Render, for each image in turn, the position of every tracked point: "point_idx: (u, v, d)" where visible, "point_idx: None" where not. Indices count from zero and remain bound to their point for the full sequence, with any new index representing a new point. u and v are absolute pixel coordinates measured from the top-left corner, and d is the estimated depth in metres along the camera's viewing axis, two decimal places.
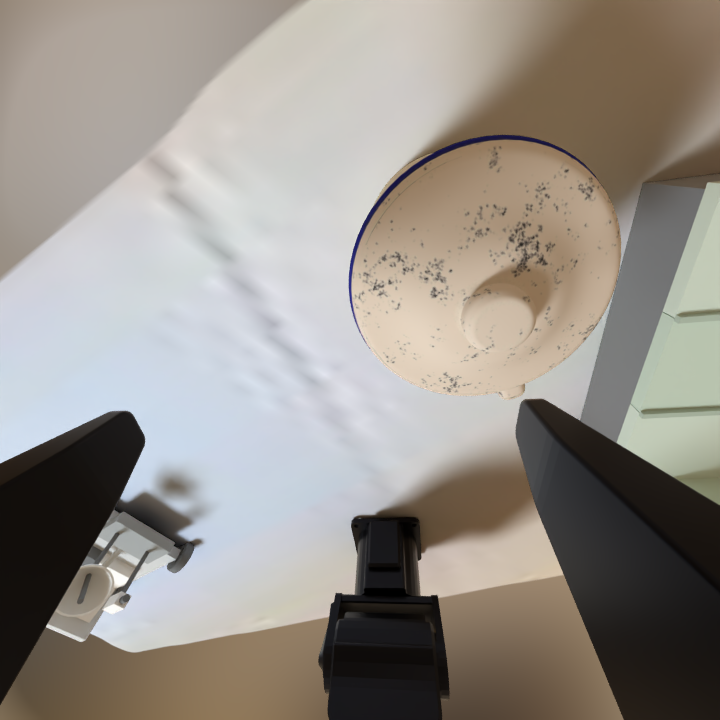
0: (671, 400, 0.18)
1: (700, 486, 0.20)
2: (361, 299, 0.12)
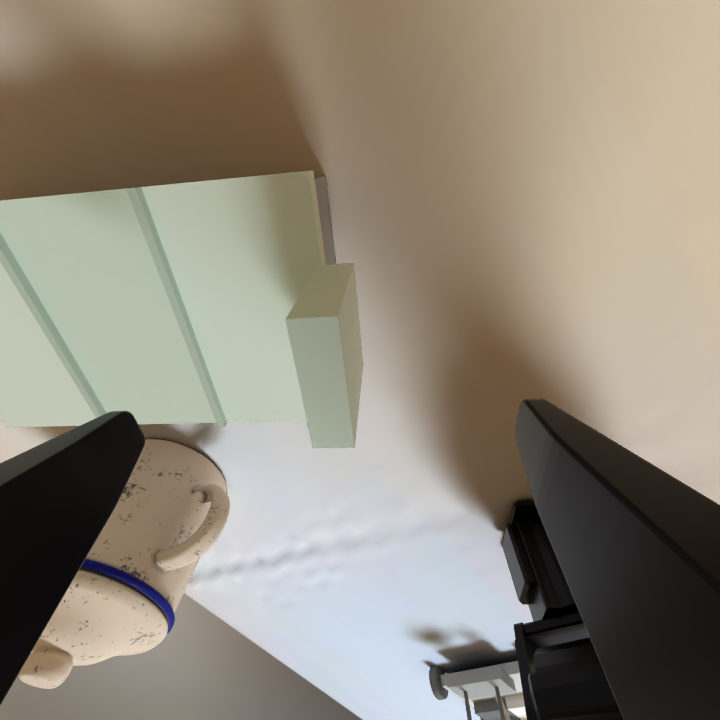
0: (197, 399, 0.15)
1: None
2: None
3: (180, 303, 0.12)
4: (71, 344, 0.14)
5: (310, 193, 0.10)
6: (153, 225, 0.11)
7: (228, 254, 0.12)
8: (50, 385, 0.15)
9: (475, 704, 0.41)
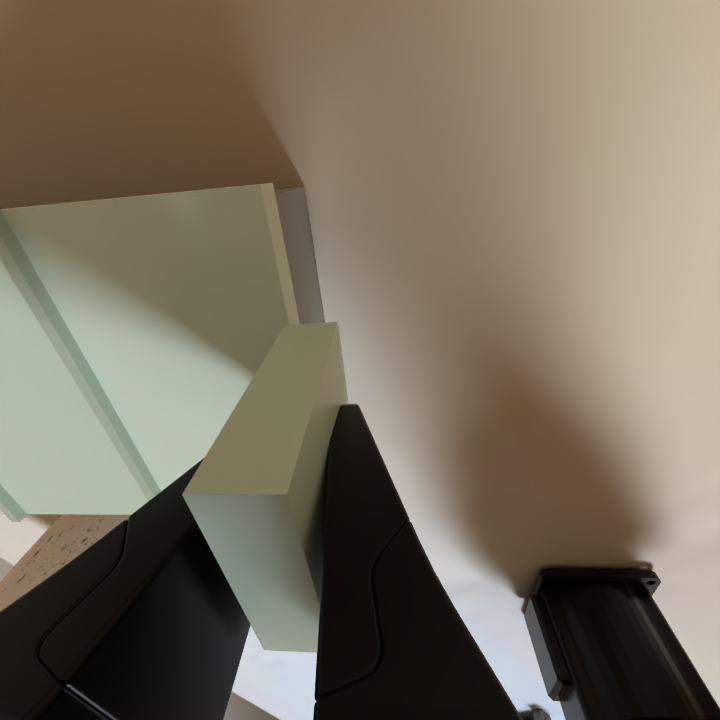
0: (132, 488, 0.11)
1: None
2: None
3: (87, 374, 0.09)
4: None
5: (266, 220, 0.07)
6: (28, 267, 0.07)
7: (149, 308, 0.08)
8: None
9: None
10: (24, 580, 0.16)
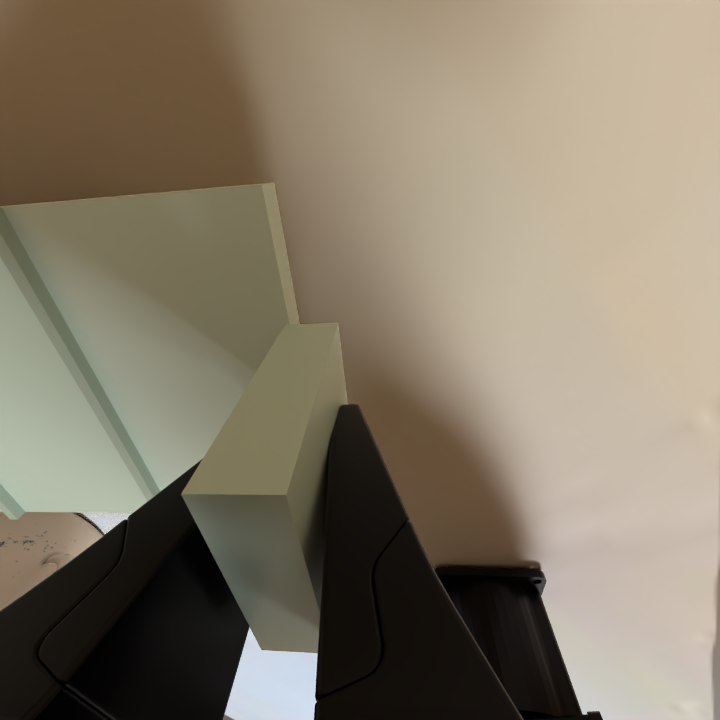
0: (130, 487, 0.11)
1: None
2: None
3: (87, 372, 0.09)
4: None
5: (267, 220, 0.07)
6: (29, 265, 0.07)
7: (149, 306, 0.08)
8: None
9: None
10: None
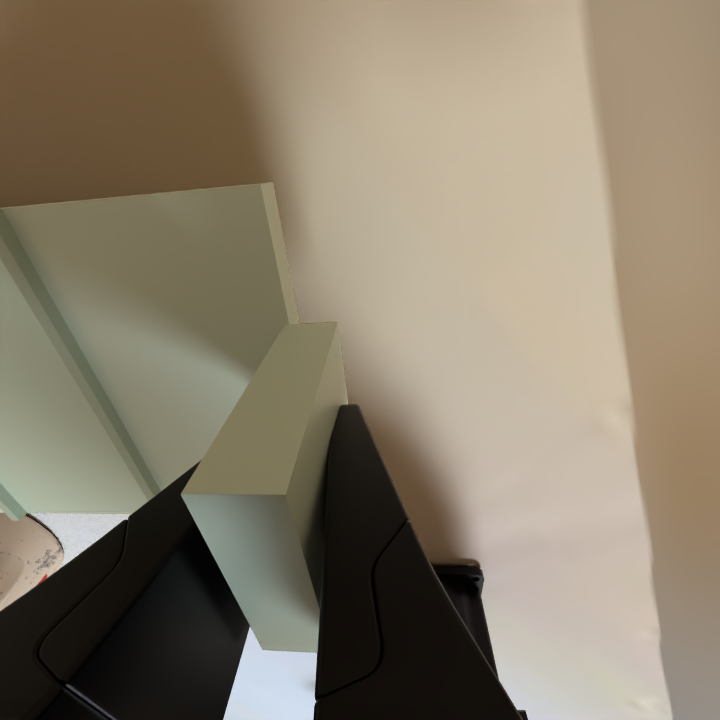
0: (132, 487, 0.11)
1: None
2: None
3: (87, 373, 0.09)
4: None
5: (266, 219, 0.07)
6: (28, 266, 0.07)
7: (149, 307, 0.08)
8: None
9: None
10: None
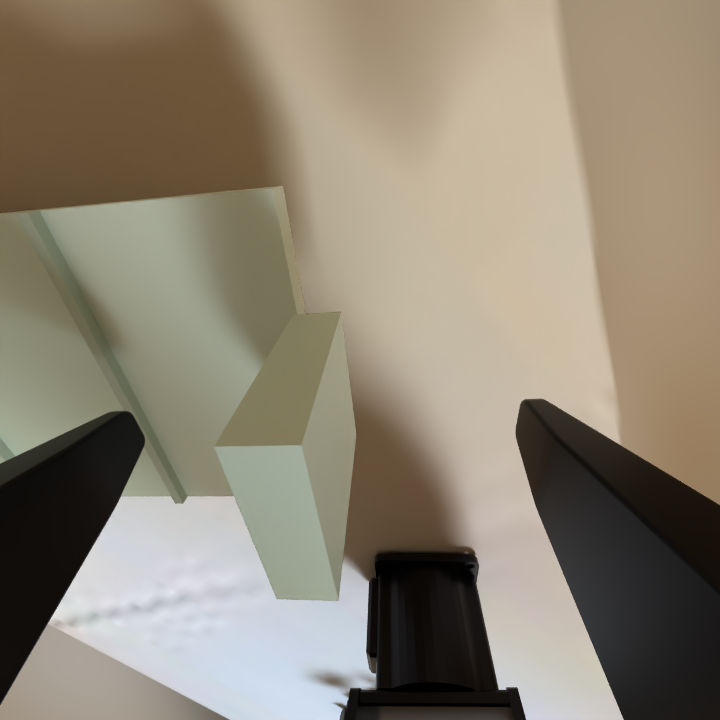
0: (148, 470, 0.12)
1: None
2: None
3: (111, 361, 0.09)
4: None
5: (277, 219, 0.07)
6: (62, 262, 0.08)
7: (170, 299, 0.08)
8: None
9: None
10: None
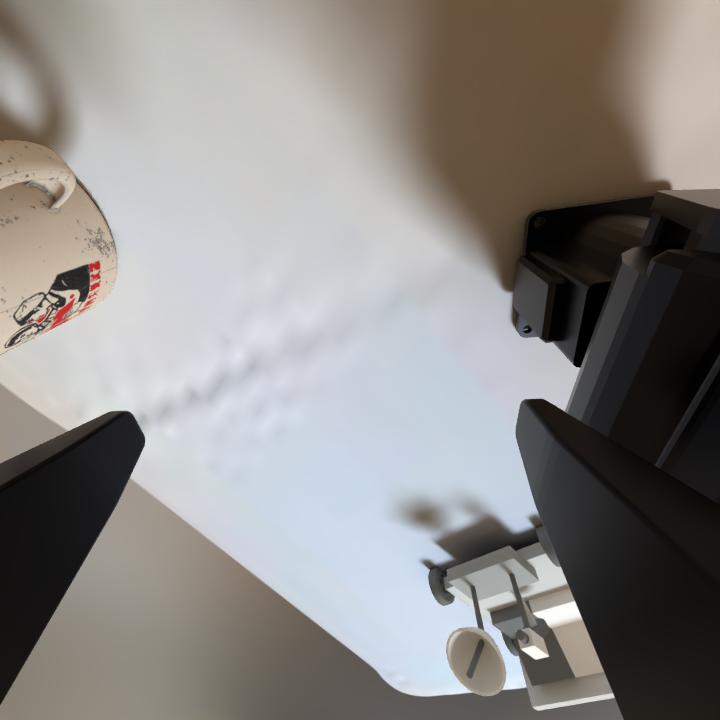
0: None
1: None
2: None
3: None
4: None
5: None
6: None
7: None
8: None
9: (492, 614, 0.32)
10: None
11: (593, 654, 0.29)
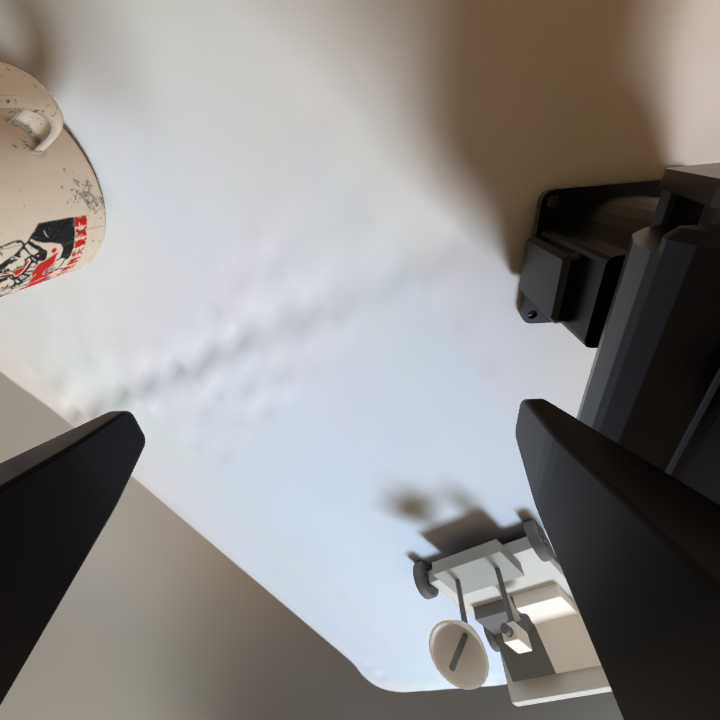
0: None
1: None
2: None
3: None
4: None
5: None
6: None
7: None
8: None
9: (475, 609, 0.32)
10: None
11: (574, 650, 0.29)
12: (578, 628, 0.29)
